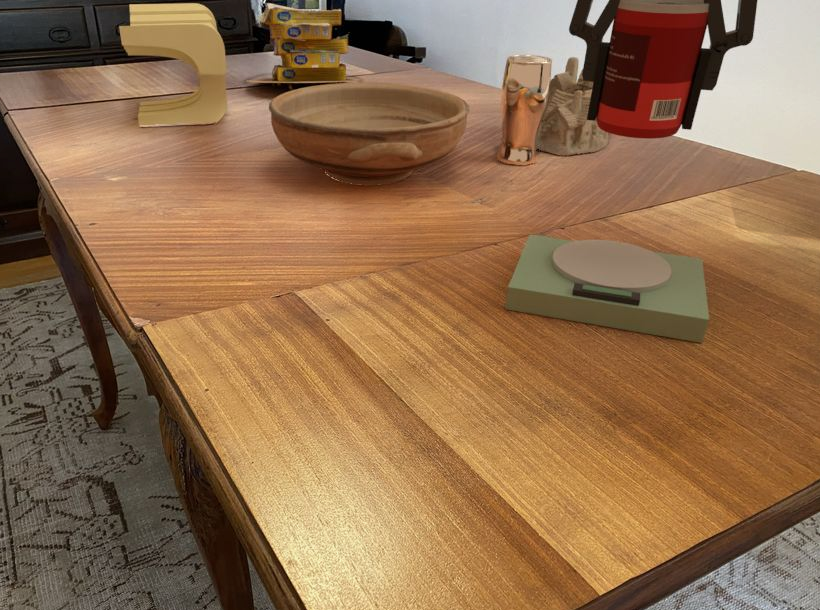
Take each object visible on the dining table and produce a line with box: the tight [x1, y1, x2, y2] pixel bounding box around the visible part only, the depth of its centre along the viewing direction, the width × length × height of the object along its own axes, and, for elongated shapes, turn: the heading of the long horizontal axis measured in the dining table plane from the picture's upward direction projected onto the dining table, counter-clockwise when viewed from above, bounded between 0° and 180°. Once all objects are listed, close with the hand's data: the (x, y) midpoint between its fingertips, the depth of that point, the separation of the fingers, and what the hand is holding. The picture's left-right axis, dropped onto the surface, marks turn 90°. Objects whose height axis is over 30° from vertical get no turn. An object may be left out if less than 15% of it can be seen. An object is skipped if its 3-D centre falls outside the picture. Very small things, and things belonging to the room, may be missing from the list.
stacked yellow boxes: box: [245, 2, 362, 91], centre depth 150 cm, size 25×25×17 cm
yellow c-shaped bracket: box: [118, 2, 228, 126], centre depth 128 cm, size 30×16×18 cm, turn 12°
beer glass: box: [496, 54, 553, 166], centre depth 107 cm, size 7×7×15 cm
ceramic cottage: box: [536, 56, 609, 156], centre depth 117 cm, size 16×16×15 cm
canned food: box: [596, 0, 709, 140], centre depth 64 cm, size 8×8×11 cm
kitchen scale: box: [504, 234, 710, 344], centre depth 72 cm, size 18×14×3 cm
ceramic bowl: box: [268, 81, 470, 186], centre depth 103 cm, size 37×29×10 cm
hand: (638, 121), depth 67 cm, fingers closed on canned food, 8 cm apart
